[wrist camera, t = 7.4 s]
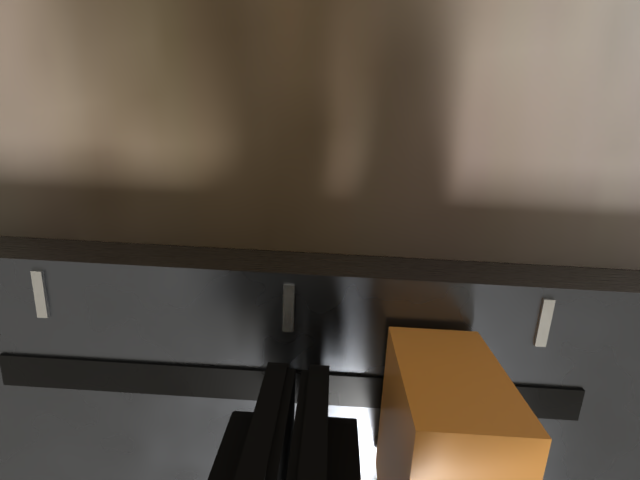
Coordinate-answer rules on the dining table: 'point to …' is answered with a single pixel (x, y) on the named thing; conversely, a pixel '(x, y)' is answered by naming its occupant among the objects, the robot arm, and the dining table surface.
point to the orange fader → (453, 412)
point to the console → (287, 350)
